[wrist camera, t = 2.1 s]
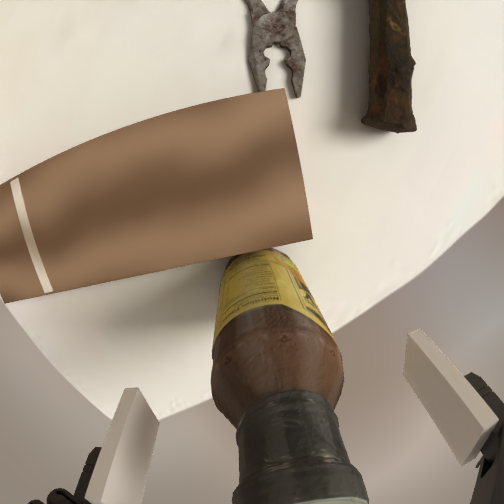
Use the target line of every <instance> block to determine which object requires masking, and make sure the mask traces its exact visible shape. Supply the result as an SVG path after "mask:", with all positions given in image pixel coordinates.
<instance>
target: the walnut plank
mask: <svg viewBox="0 0 504 504" xmlns="http://www.w3.org/2000/svg"><path fill="white" fill-rule="evenodd" d="M310 239H313V237H312V230H311V224H310V217H309V211H308V205H307V199H306V193H305V187H304V182H303V176H302V170H301V165H300V160H299V154H298V149H297V144H296V139H295V134H294V129H293V125H292V120H291V115H290V111H289V106H288V102H287V97H286V93H285V89H284V88H282V89H275V90H269V91H262V92H257V93H251V94H245V95H240V96H235V97H230V98H225V99H221V100H216V101H212V102H208V103H203V104H199V105H195V106H191V107H188V108H184V109H180V110H177V111H173V112H170V113H166V114H163V115H159V116H156V117H153V118H150V119H147V120H144V121H141V122H138V123H135V124H132V125H129V126H126V127H123V128H120V129H118V130H115V131H112V132H110V133H107V134H104V135H102V136H99V137H97V138H94V139H92V140H90V141H87V142H85V143H82V144H80V145H78V146H75V147H73V148H71V149H69V150H67V151H64V152H62V153H60V154H58V155H56V156H54V157H52V158H50V159H48V160H46V161H43V162H42V163H40V164H38V165H36V166H34V167H32V168H30V169H28V170H26V171H24V172H22V173H21V174H19V175H17V176H15V177H13V178H12V179H10V180H8V181H7V182H5V183H3V184H1V185H0V294H1V296H2V299H3V301H4V303H10V302H14V301H19V300H24V299H29V298H33V297H38V296H43V295H48V294H52V293H57V292H62V291H67V290H72V289H76V288H81V287H86V286H91V285H95V284H100V283H105V282H110V281H114V280H119V279H124V278H129V277H134V276H138V275H143V274H148V273H153V272H157V271H162V270H167V269H172V268H177V267H181V266H186V265H191V264H196V263H200V262H205V261H210V260H215V259H220V258H224V257H229V256H234V255H239V254H243V253H248V252H253V251H258V250H263V249H267V248H272V247H277V246H282V245H286V244H291V243H296V242H301V241H306V240H310Z"/></svg>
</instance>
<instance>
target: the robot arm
mask: <svg viewBox="0 0 504 504" xmlns="http://www.w3.org/2000/svg"><path fill="white" fill-rule="evenodd" d="M407 336H408V337H407V346H406V355H405V364H404V371H403V375H404V377H405V378H406V379H407V381H408V382H409V384H410V385H411V387H412V388H413V390H414V391H415V393H416V394H417V396H418V398H419V399H420V400H421V402H422V404H423V405H424V407H425V408H426V410H427V411H428V413H429V415H430V416H431V418H432V419H433V421H434V422H435V424H436V425H437V427H438V429H439V430H440V432H441V434H442V435H443V437H444V438H445V440H446V442H447V443H448V445H449V447H450V448H451V450H452V452H453V453H454V455H455V456H456V458H457V460H458V462H459V463H460V465H461V466H463V465H465V464H466V463H468V462H470V461H471V460H473V459H475V458H476V456H477V455H478V453H479V452H480V451H481V452H482V454H483V456H482V458H481V459H480V461H479V462H478V463H477V465H476V468H478V467H479V465H480V469H479V473H478V477H477V481H476V485H475V488H474V492H473V495H472V499H471V502H470V504H504V403H503V402H502V401H501V400H500V398H499V397H498V396H497V395H496V394H495V393H494V392H492V389H491V388H490V387H489V386H487V384H486V383H485V381H484V380H483V379H482V378H481V377H479V376H478V375H476V374H474V373H472V372H471V373H469V374H468V375H466V376H463V375H462V374H461V373H460V371H459V370H458V369H457V368H456V367H455V366H454V365H453V363H451V361H450V360H449V359H448V358H447V357H446V356H445V355H444V353H442V351H441V350H440V349H439V348H438V347H437V346H436V345H435V344H434V342H433V341H432V340H431V339H430V338H429V337H428V336H427V335H426V334H425V333H424V332H423V331H422V330H421V329H418V330H416V331H413V332H410V333H408V335H407ZM158 427H159V421H158V420H157V418H156V416H155V415H154V413H153V412H152V410H151V408H150V407H149V405H148V403H147V402H146V400H145V398H144V397H143V395H142V393H141V391H140V390H139V388H125V390H124V392H123V395H122V397H121V400H120V402H119V405H118V407H117V410H116V412H115V415H114V417H113V420H112V422H111V425H110V427H109V430H108V433H107V436H106V438H105V441H104V443H103V446H102V447H95V448H94V449H93V450H92V451H91V453H90V454H89V455H88V458H87V461H86V465H85V466H84V468H83V472H82V474H81V477H80V479H79V482H78V485H77V487H76V490H75V493H74V496H73V495H72V494H71V493H69V492H68V491H67V490H65V489H62V488H58V489H54V490H53V491H52V492H50V494H49V495H48V497H47V504H142V500H143V494H144V490H145V485H146V480H147V475H148V470H149V466H150V462H151V457H152V453H153V448H154V444H155V440H156V435H157V431H158ZM28 504H44V503H43V502H41V501H40V500H32V501H30V502H29V503H28Z"/></svg>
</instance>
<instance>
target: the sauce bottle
mask: <svg viewBox="0 0 504 504" xmlns="http://www.w3.org/2000/svg"><path fill="white" fill-rule="evenodd" d="M212 359H213V367H212V372H211V389H212V396H213V399H214V402H215V405H216V407H217V408H218V410H219V411H220V412H221V413H223V414H224V416H225V417H226V418H227V419H228V420H229V421H230V422H231V424H233V425H234V427H235V428H236V429H237V432H236V441H237V445H238V447H239V472H240V476H239V485H238V487H237V488H236V489H235V491H234V492H233V497H232V503H233V504H369V499H368V495H367V491H366V488H365V485H364V482H363V479H362V476H361V474H360V472H359V471H358V470H357V469H356V468H355V467H354V466H353V465H352V464H351V463H350V461H349V458H348V455H347V451H346V449H345V447H344V444H343V441H342V438H341V435H340V431H339V423H338V417H337V415H336V414H335V413H334V409H335V406H336V404H337V402H338V400H339V397H340V395H341V391H342V387H343V382H344V372H343V363H342V356H341V352H340V349H339V347H338V345H337V343H336V341H335V339H334V337H333V335H332V333H331V331H330V329H329V328H328V326H327V324H326V322H325V320H324V318H323V316H322V314H321V312H320V310H319V308H318V306H317V305H316V303H315V301H314V298H313V297H312V295H311V293H310V291H309V290H308V288H307V286H306V284H305V282H304V280H303V278H302V276H301V274H300V272H299V271H298V269H297V267H296V266H295V264H294V263H293V262H292V261H291V260H290V258H289V257H288V256H287V255H286V254H284V253H282V252H280V251H279V250H276V249H274V248H267V249H263V250H258V251H253V252H248V253H243V254H239V255H235V256H234V257H232V258H231V260H230V261H229V263H228V265H227V267H226V269H225V272H224V275H223V277H222V281H221V286H220V292H219V300H218V308H217V316H216V324H215V332H214V340H213V348H212Z"/></svg>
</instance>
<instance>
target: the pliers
mask: <svg viewBox="0 0 504 504" xmlns="http://www.w3.org/2000/svg"><path fill="white" fill-rule="evenodd" d="M245 1H246V3H247V4H248V6H249V9H250V12H251V17H252V22H253V33H252V40H251V48H250V55H249V63H250V66H251V69H252V73H253V76H254V79H255V82H256V85H257V88H258V91H259V92H262V91H265V89H266V82H267V78H266V77H265V69H266V68H267V67H268V66H269V63H270V59H269V58H267V57H265V56H264V53H263V51H264V50H265V49H266V48H270V47H272V43H279V44H280V47H282V48H287V49H288V50H289V52H290V53H291V54H290V57H289V58H287V59H286V61H285V62H286V65H287V66H288V67H289V68H290V69H291V71H292V80H291V81H292V85H293V88H294V91H295V95H296V98H299V97H300V96H301V90H302V83H303V76H304V69H305V62H306V59H305V55H304V51H303V48H302V44H301V40H300V37H299V33H298V30H297V27H295V26H296V13H295V8H296V3H297V1H298V0H283V1H282V3H281V5H280V8H279V11H278V12H273V13H270V12H269V11H268V10H267V8H266V7H265V5H264V4H263V2H262V1H261V0H245Z"/></svg>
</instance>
